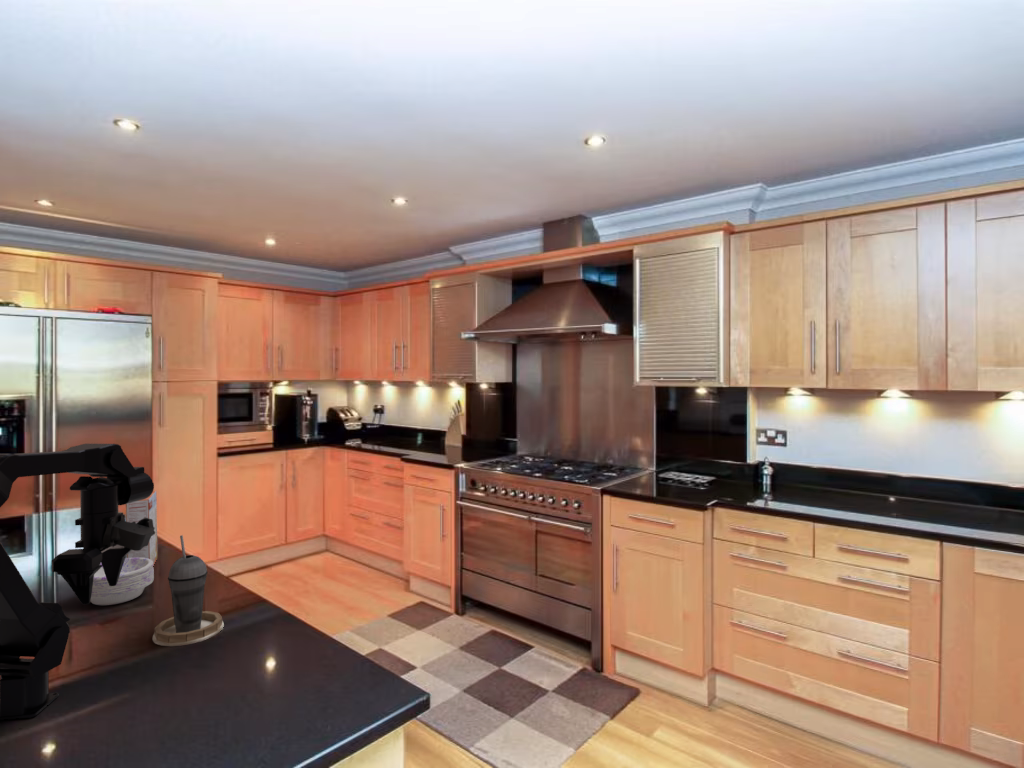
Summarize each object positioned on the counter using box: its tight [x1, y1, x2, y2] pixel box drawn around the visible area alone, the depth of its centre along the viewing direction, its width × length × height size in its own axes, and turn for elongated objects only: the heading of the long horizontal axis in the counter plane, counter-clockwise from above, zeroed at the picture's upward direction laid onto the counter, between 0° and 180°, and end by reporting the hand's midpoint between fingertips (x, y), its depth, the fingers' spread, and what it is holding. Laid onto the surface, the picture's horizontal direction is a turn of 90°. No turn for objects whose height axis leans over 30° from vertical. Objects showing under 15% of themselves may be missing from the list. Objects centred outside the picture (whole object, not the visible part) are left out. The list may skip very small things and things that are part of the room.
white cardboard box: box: [125, 490, 158, 567], centre depth 162 cm, size 14×6×21 cm, turn 25°
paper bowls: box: [90, 557, 155, 606], centre depth 138 cm, size 15×15×8 cm
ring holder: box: [152, 610, 225, 647], centre depth 119 cm, size 13×13×2 cm
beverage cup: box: [167, 534, 208, 633], centre depth 119 cm, size 7×7×20 cm
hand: (100, 594), depth 105 cm, fingers open, 9 cm apart
